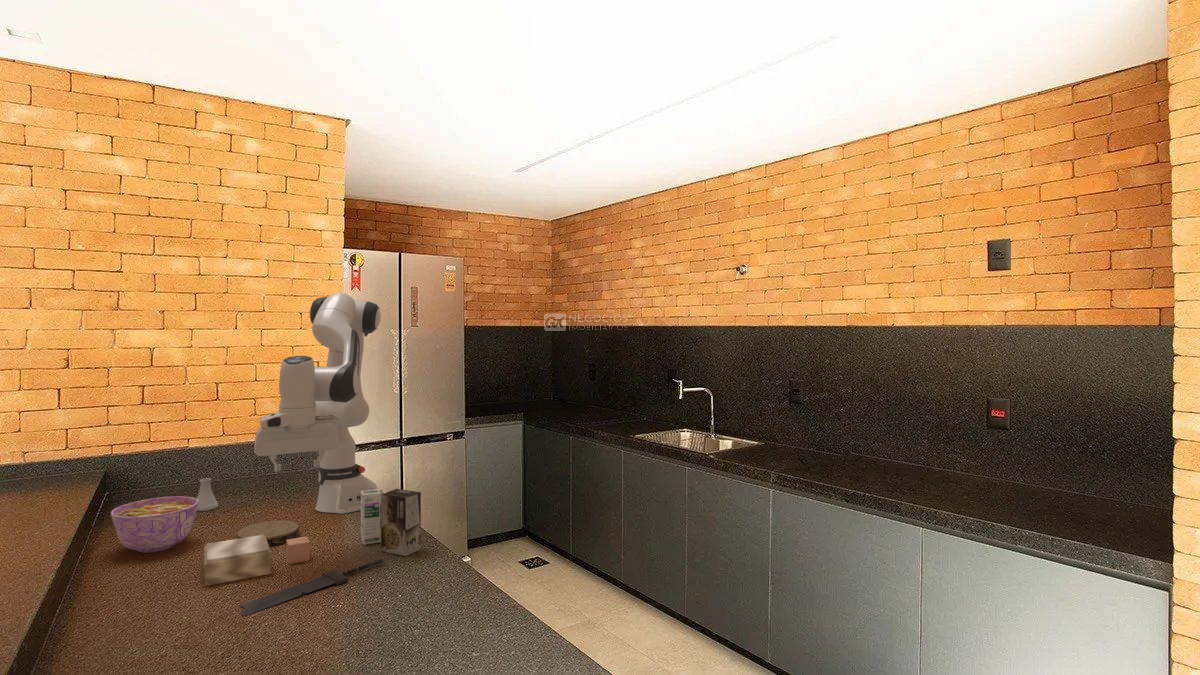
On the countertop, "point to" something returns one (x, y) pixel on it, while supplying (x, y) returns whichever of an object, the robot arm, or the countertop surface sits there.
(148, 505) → the bowl of food
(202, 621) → the countertop surface
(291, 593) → the flat dark sword
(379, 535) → the syrup box
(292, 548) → the terracotta cube
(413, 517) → the brown printed carton
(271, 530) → the brown flat disc
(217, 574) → the cream square block
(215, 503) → the flask
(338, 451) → the robot arm
